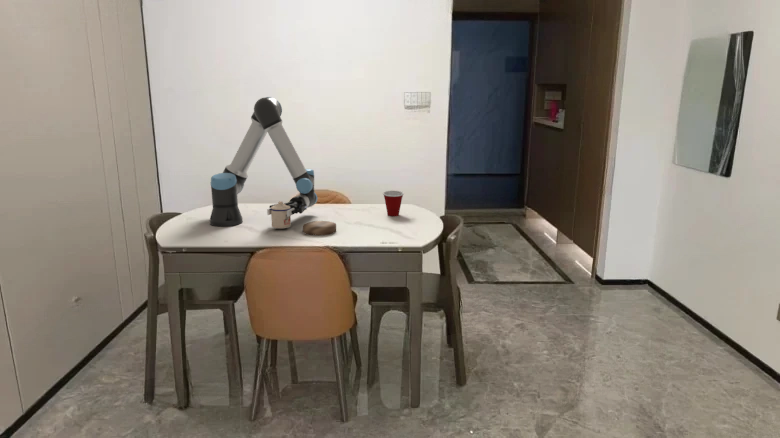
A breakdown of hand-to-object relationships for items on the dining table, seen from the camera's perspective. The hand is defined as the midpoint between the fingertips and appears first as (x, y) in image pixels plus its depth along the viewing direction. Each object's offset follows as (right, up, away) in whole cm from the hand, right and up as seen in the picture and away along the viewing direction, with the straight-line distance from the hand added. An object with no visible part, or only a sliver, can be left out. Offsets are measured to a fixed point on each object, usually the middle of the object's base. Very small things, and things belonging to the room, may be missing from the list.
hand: (277, 212), depth 245 cm
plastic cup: (+53, -1, +34) cm, 62 cm away
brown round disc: (+19, -8, +1) cm, 21 cm away
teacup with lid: (+1, -6, +6) cm, 8 cm away
